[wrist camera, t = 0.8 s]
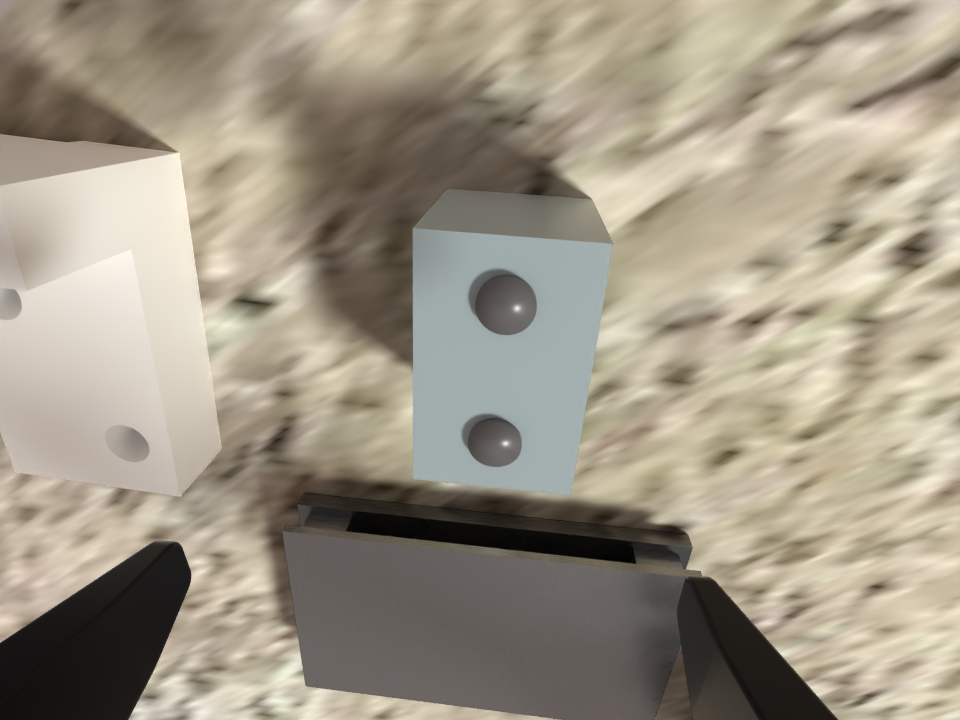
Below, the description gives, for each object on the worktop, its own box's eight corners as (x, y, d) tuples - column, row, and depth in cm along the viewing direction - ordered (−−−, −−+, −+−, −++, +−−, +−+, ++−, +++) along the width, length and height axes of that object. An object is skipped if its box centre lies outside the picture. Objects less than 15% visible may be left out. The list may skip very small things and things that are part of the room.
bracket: (-6, 128, 20) (-287, 150, 13) (183, 151, 19) (-5, 186, 13) (79, 424, 26) (-84, 545, 19) (225, 445, 25) (111, 575, 19)
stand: (688, 534, 25) (702, 578, 23) (642, 682, 30) (650, 731, 28) (303, 493, 26) (282, 531, 24) (322, 643, 31) (305, 686, 29)
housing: (591, 198, 19) (614, 246, 13) (562, 397, 22) (571, 501, 17) (447, 188, 19) (410, 230, 13) (442, 386, 23) (411, 484, 17)
